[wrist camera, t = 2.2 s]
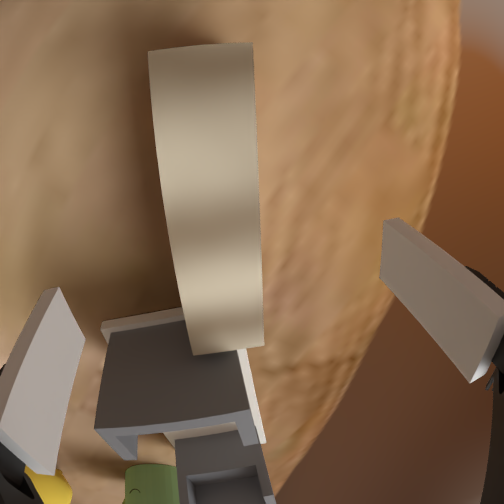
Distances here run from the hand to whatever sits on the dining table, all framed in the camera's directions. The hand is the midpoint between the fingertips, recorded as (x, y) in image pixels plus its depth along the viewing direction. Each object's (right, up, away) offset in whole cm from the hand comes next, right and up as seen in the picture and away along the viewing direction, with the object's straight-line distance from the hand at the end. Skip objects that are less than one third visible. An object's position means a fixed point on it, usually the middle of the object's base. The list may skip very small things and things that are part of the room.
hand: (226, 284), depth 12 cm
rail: (-2, +5, +9) cm, 10 cm away
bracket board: (-4, -13, +18) cm, 23 cm away
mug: (-15, -33, +27) cm, 45 cm away
